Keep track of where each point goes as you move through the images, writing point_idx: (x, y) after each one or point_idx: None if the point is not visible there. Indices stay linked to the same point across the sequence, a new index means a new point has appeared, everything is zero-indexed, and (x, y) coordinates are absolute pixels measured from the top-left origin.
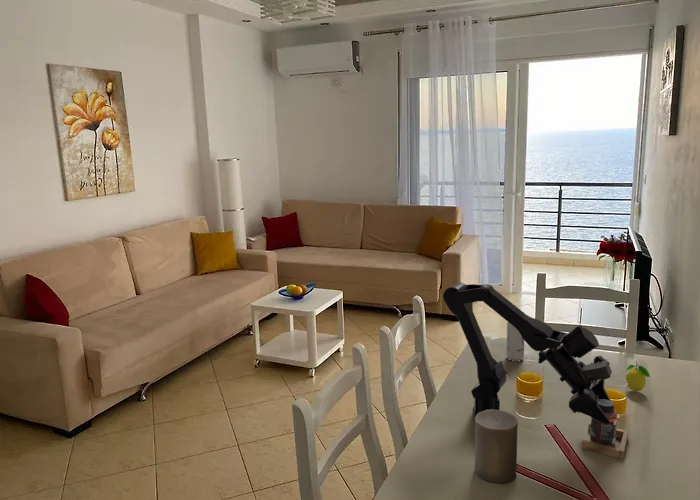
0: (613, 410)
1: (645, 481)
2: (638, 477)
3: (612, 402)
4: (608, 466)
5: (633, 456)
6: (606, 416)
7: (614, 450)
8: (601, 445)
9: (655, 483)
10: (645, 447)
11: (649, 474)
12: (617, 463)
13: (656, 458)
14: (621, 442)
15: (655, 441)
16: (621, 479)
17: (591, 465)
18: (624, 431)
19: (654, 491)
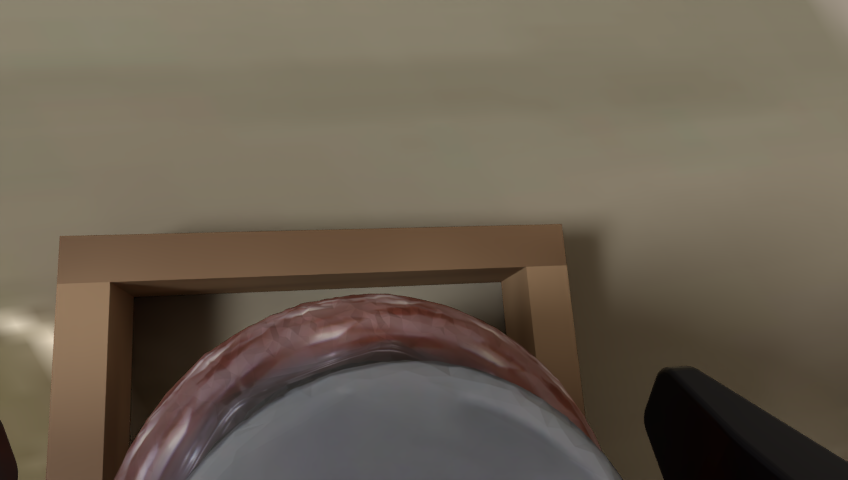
0: (391, 360)
1: (729, 68)
2: (712, 113)
3: (292, 417)
4: (712, 332)
5: (431, 172)
6: (760, 439)
7: (565, 309)
8: None
9: (710, 10)
10: (204, 94)
11: (625, 48)
12: (623, 275)
13: (356, 8)
14: (384, 268)
15: (26, 19)
16: (814, 215)
17: None
18: (94, 275)
19: (801, 15)
